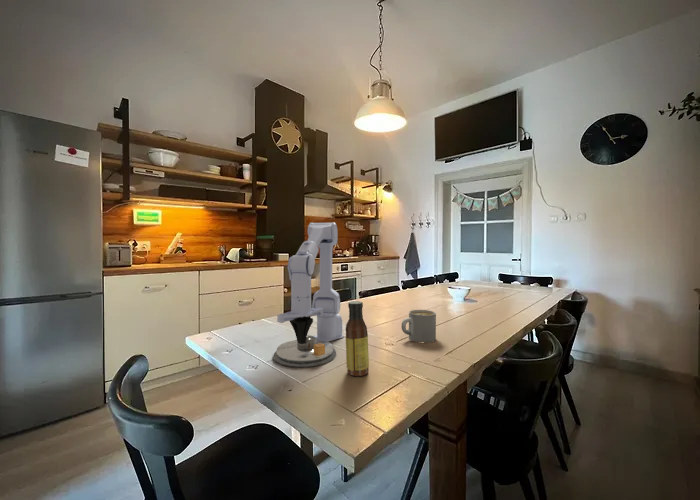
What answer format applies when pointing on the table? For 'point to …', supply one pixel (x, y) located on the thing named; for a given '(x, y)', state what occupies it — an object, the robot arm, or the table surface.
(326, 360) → the turntable base
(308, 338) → the cover
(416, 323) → the coffee mug
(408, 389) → the table surface
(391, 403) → the table surface
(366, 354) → the sauce bottle
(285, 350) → the turntable
